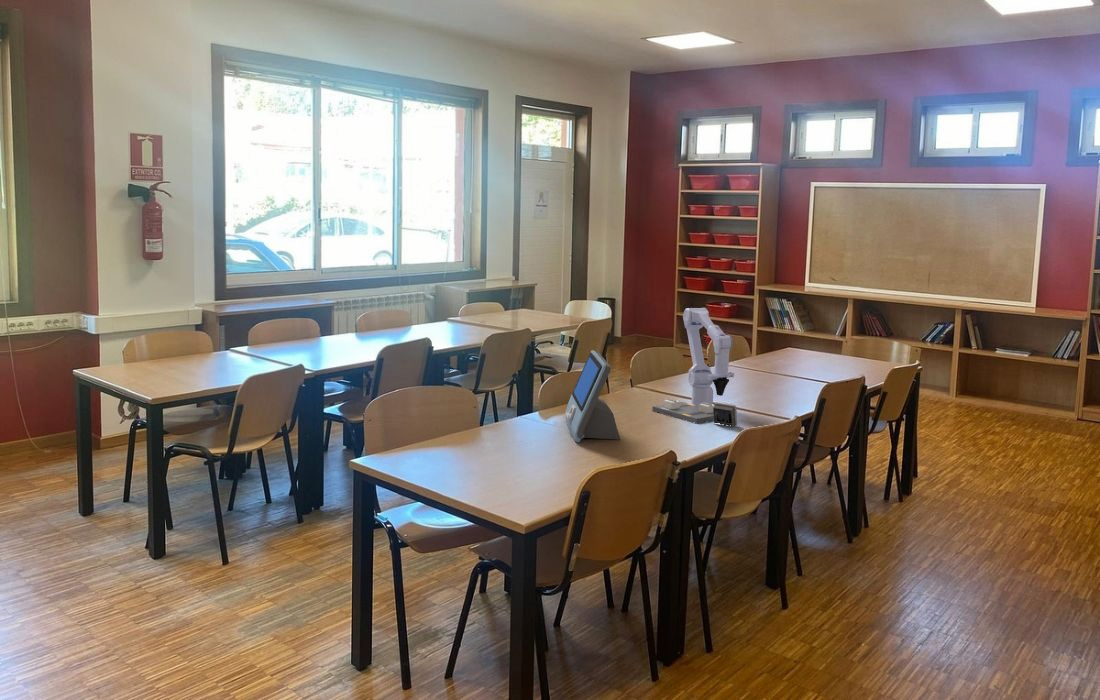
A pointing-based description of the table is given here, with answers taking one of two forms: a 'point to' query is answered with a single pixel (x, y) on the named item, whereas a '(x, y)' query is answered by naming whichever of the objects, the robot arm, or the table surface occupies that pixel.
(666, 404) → the slider
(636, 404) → the table surface
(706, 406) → the slider
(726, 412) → the electrical switch
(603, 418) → the touchscreen device
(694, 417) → the switch panel
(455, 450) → the table surface
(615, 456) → the table surface
